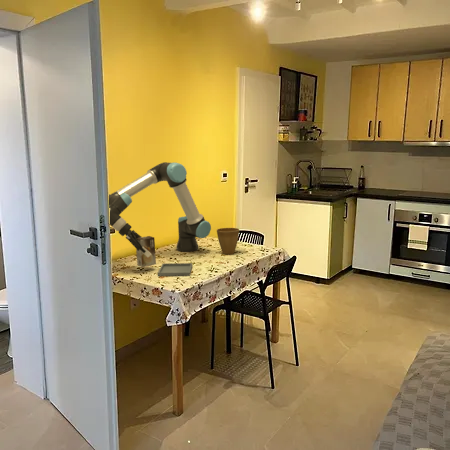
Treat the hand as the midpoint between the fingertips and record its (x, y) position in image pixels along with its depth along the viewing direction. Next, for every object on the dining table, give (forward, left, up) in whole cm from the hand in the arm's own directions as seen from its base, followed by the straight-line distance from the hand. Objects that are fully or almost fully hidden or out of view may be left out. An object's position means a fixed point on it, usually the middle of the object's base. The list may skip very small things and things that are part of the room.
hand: (151, 253), depth 259 cm
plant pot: (-39, +44, -10) cm, 60 cm away
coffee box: (0, -3, -7) cm, 7 cm away
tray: (+3, +14, -10) cm, 17 cm away
